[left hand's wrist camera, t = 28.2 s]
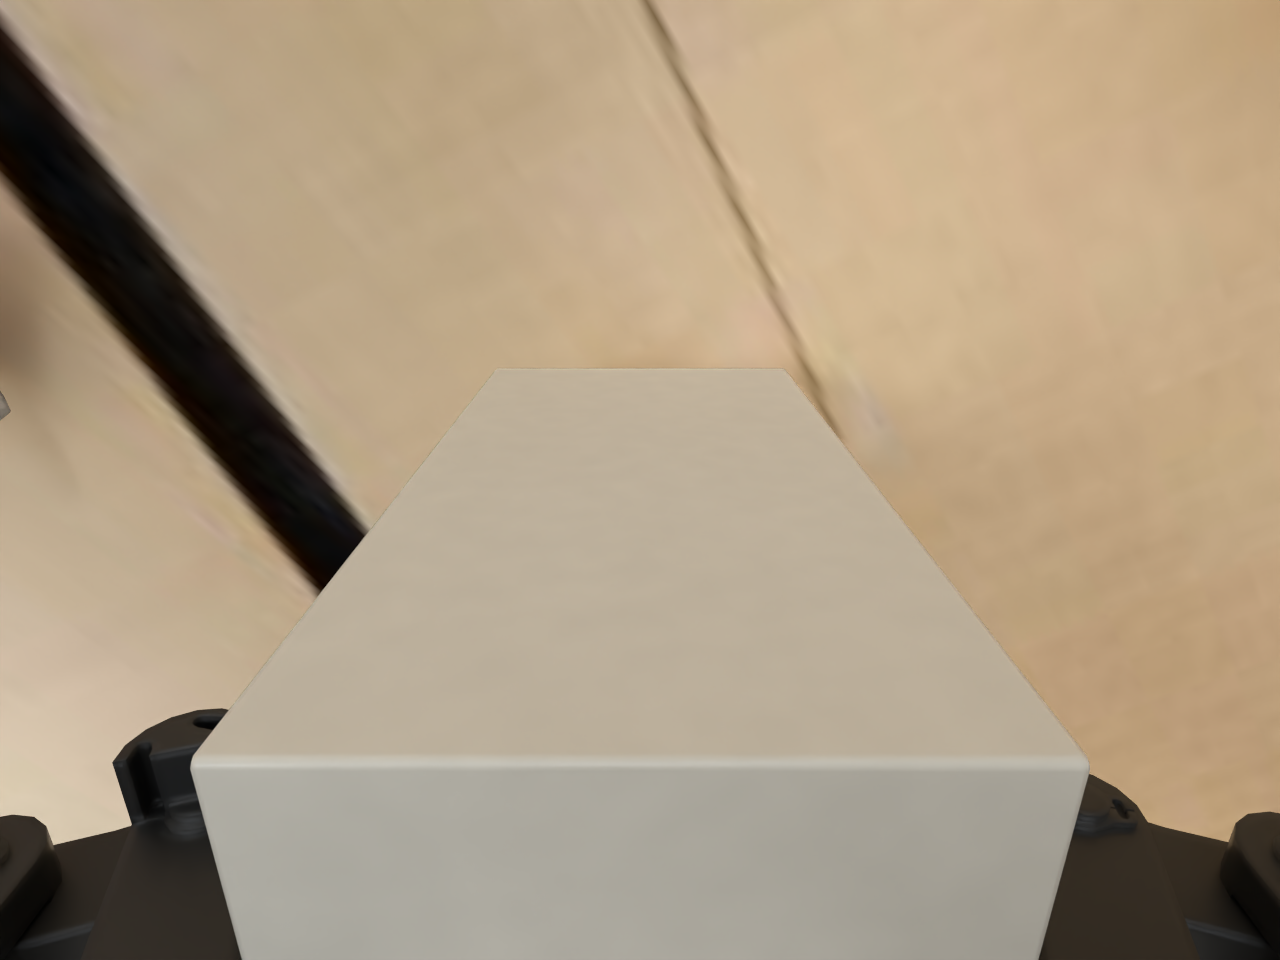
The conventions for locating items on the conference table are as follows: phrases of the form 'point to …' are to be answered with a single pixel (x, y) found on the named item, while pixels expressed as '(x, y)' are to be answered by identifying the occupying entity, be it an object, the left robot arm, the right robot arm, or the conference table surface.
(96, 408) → the conference table surface
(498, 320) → the conference table surface
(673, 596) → the block
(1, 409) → the fish
